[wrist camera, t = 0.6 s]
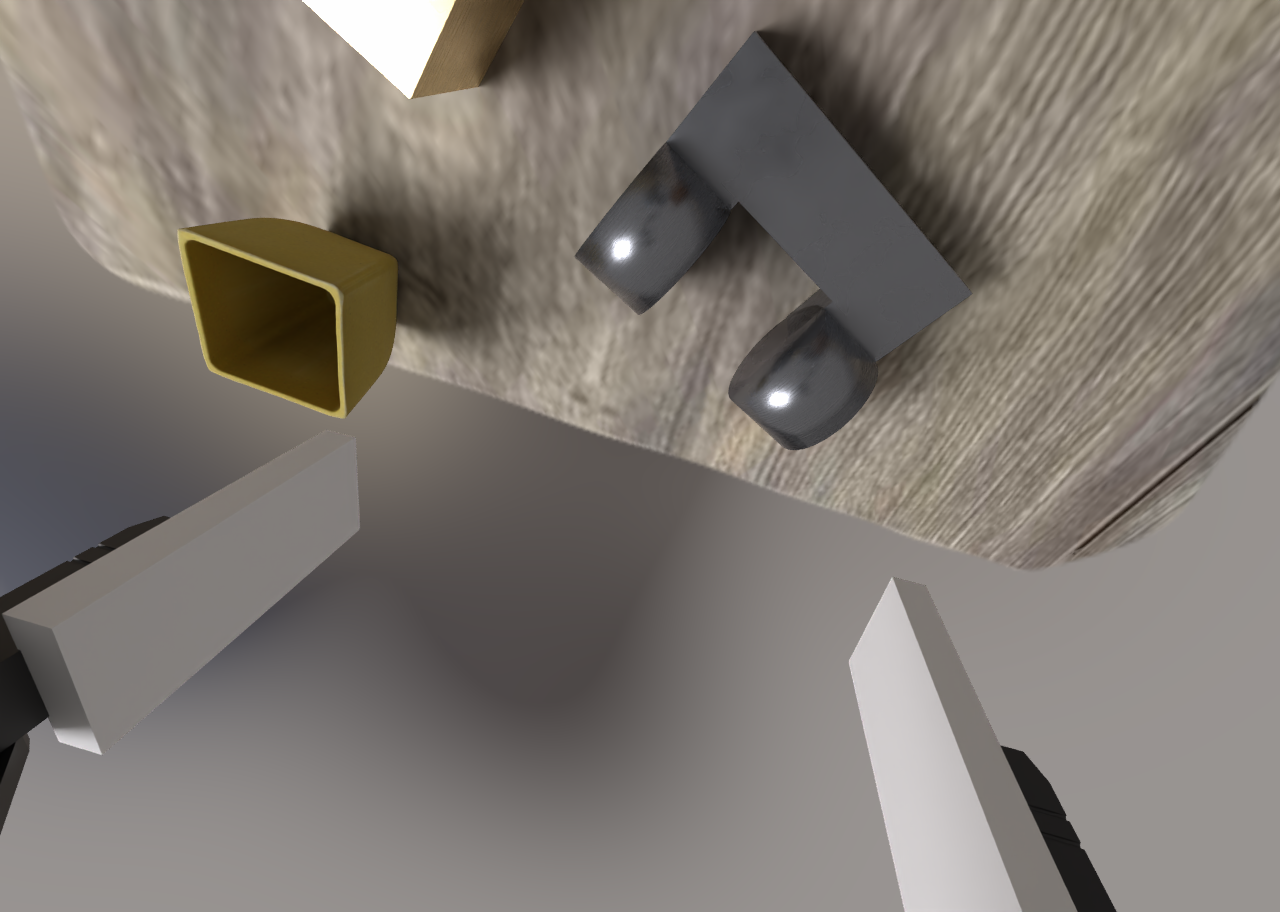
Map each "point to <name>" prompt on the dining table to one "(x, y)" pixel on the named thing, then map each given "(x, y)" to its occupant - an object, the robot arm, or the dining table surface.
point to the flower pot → (291, 309)
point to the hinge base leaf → (781, 243)
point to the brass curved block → (423, 38)
